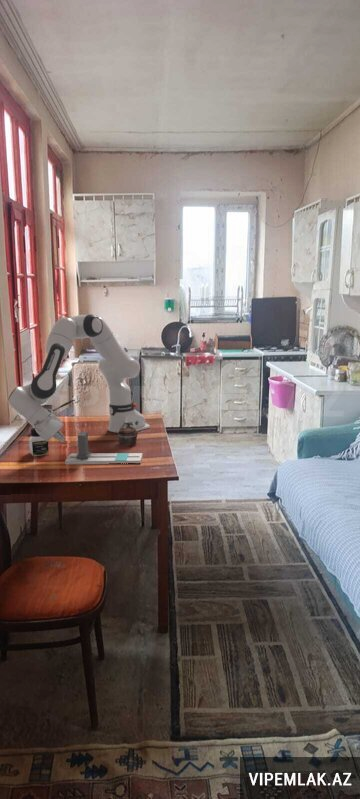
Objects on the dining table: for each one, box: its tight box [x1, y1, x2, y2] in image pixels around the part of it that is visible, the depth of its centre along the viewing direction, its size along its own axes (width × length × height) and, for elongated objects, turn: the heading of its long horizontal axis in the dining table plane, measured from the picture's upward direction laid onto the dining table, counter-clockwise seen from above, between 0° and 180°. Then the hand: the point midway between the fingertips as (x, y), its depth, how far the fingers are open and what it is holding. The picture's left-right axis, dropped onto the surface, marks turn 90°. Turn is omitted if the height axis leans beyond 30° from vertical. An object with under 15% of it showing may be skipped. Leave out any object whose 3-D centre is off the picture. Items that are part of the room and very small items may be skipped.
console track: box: [64, 452, 144, 465], centre depth 214 cm, size 32×10×2 cm, turn 89°
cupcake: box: [117, 422, 139, 447], centre depth 238 cm, size 10×10×10 cm
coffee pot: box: [41, 398, 77, 415], centre depth 267 cm, size 21×12×15 cm, turn 115°
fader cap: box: [76, 431, 92, 459], centre depth 213 cm, size 5×7×10 cm
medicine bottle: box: [28, 427, 50, 457], centre depth 224 cm, size 7×7×12 cm
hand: (64, 440), depth 213 cm, fingers closed
